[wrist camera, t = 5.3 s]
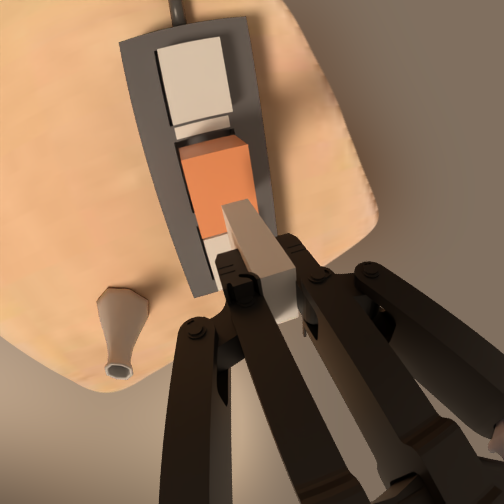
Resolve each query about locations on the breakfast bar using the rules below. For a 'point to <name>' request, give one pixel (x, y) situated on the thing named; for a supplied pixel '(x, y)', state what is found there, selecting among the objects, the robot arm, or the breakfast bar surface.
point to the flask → (121, 328)
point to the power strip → (195, 129)
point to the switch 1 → (195, 80)
